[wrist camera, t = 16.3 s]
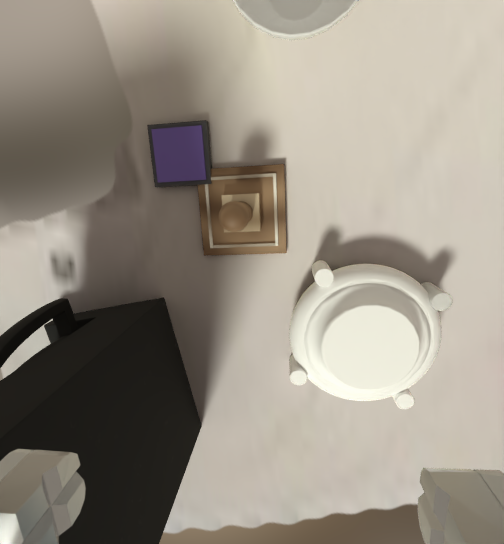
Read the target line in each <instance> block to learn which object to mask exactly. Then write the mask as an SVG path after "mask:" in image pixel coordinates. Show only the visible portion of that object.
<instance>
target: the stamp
mask: <svg viewBox="0 0 504 544" xmlns="http://www.w3.org/2000/svg"><path fill="white" fill-rule="evenodd" d="M219 221H220V224H221V225H222V227H223V228H224V232H251V231H261V216H260V193H255V194H235V195H222V207H221V209H220V211H219Z"/></svg>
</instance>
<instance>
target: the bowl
mask: <svg viewBox="0 0 504 544" xmlns="http://www.w3.org/2000/svg"><path fill="white" fill-rule="evenodd" d="M358 1H359V0H233V2H234V4H235V5H236V7H237V9H238V10H239V12H240V14H241V15H242V16H243V17H244V18H245V19H246V20H247V21H248V22H249V23H250V24H251V25H252V26H253V27H254V28H256V29H258V30H260V31H262V32H264V33H266V34H268V35H269V36H271V37H274V38H279V39H285V40H300V39H308V38H311V37H313V36H316V35H318V34H320V33H323V32H325V31H327V30H329V29H330V28H332V27H333V26H334V25H336V24H337V23H338V22H339V21H341V20H342V19H343V18H345V17H346V16H347V15H348V13H349V12H350V11H351V10H352V8H353V7H354V6H355V5H356V3H357V2H358Z"/></svg>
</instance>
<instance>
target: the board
mask: <svg viewBox="0 0 504 544" xmlns="http://www.w3.org/2000/svg"><path fill="white" fill-rule="evenodd" d="M211 182H212V184H203V185H198V195H199V206H200V217H201V228H202V239H203V250H204V255H236V254H268V253H286V219H285V180H284V164H278V165H263V166H247V167H231V168H215V169H211ZM255 193H260V216H261V231H251V232H224V228H223V227H222V225H221V224H220V221H219V211H220V209H221V207H222V195H235V194H255Z"/></svg>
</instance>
